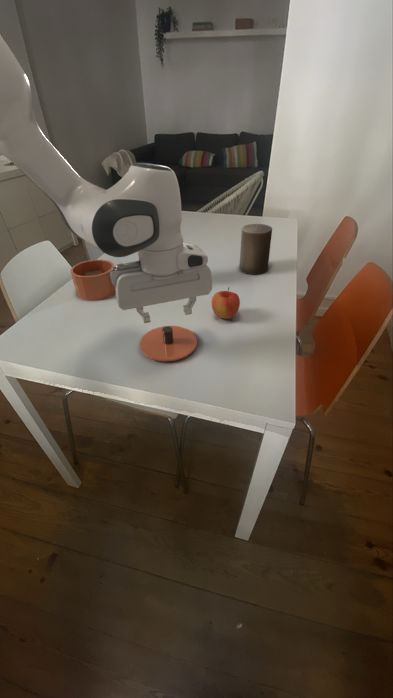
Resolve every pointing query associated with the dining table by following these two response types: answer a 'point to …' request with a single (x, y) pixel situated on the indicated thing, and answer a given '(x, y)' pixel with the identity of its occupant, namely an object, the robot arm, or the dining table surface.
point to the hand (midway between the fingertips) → (167, 317)
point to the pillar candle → (255, 248)
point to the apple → (225, 304)
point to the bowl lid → (168, 343)
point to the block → (93, 273)
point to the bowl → (93, 280)
